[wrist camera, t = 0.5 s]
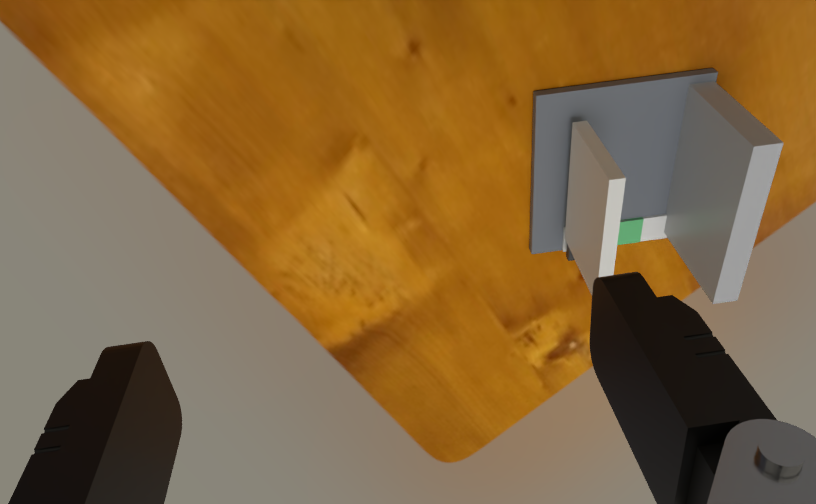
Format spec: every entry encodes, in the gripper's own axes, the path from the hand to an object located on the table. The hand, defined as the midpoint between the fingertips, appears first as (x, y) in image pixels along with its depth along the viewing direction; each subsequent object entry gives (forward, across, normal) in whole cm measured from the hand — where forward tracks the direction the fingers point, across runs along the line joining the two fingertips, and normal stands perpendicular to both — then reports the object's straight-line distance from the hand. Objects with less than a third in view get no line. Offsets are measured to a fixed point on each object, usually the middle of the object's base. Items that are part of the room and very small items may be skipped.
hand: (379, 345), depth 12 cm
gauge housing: (+26, -14, +11) cm, 31 cm away
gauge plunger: (+24, -11, +12) cm, 29 cm away
